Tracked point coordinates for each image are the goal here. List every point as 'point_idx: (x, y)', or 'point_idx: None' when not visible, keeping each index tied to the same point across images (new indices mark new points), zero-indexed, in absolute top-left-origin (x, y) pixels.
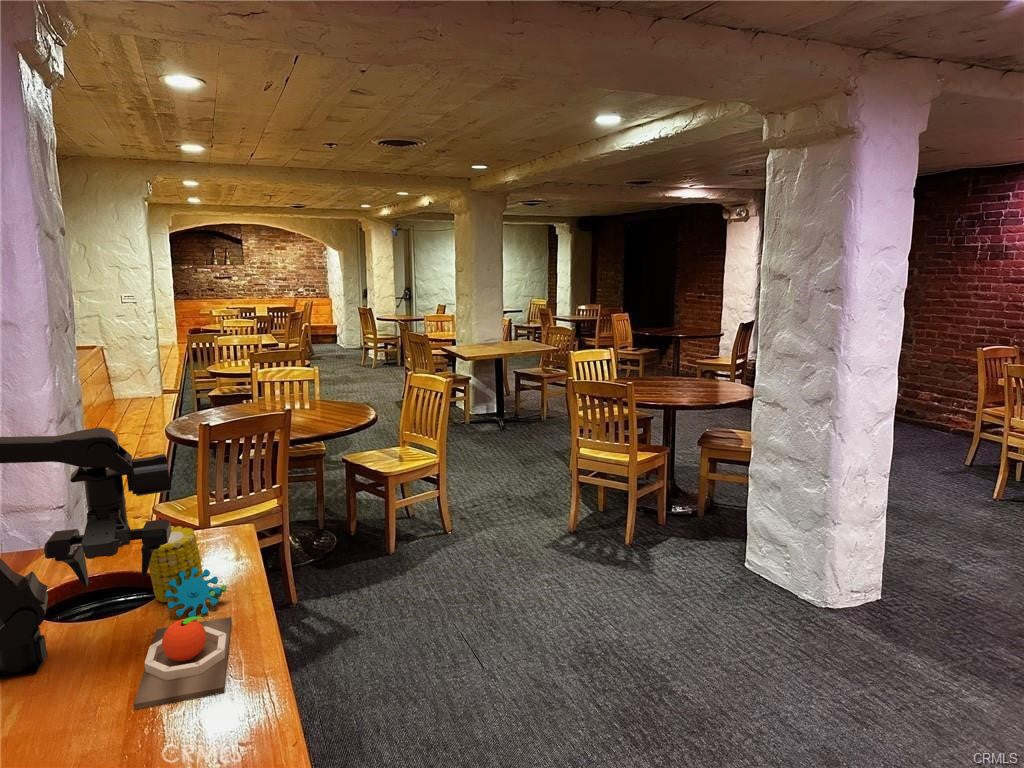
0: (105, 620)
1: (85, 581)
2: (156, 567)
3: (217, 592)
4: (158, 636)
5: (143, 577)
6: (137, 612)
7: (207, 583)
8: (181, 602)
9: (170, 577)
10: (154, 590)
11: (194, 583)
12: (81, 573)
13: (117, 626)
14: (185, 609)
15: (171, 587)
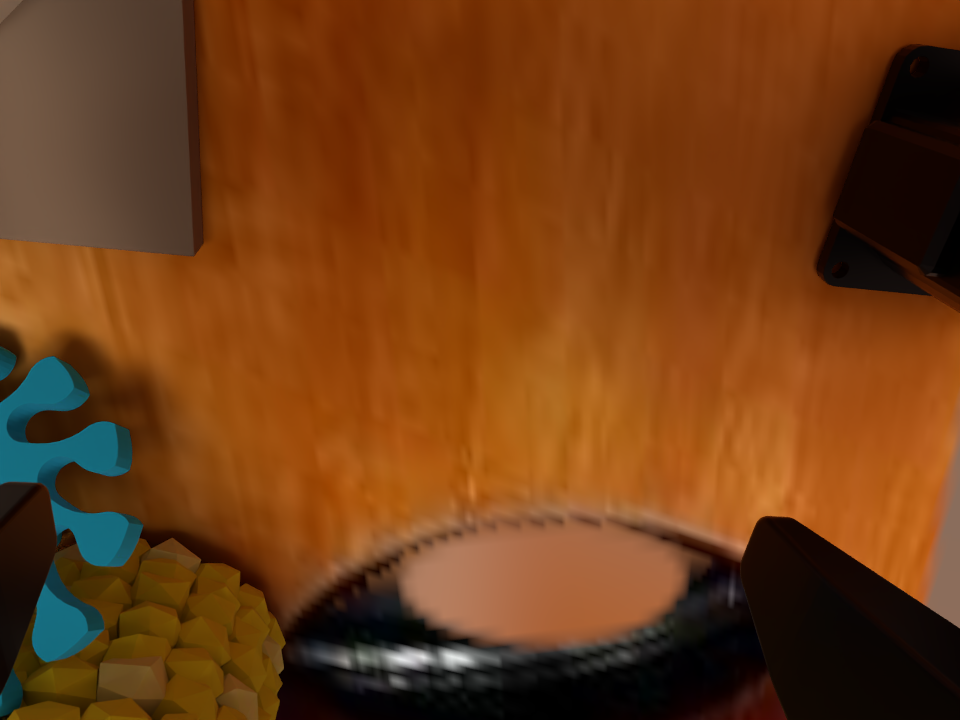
0: (524, 498)
1: (814, 562)
2: None
3: None
4: (154, 136)
5: (13, 494)
6: (363, 520)
7: None
8: (24, 452)
9: (97, 693)
10: (273, 656)
11: None
12: (949, 674)
13: (458, 417)
14: (10, 398)
15: (123, 622)
